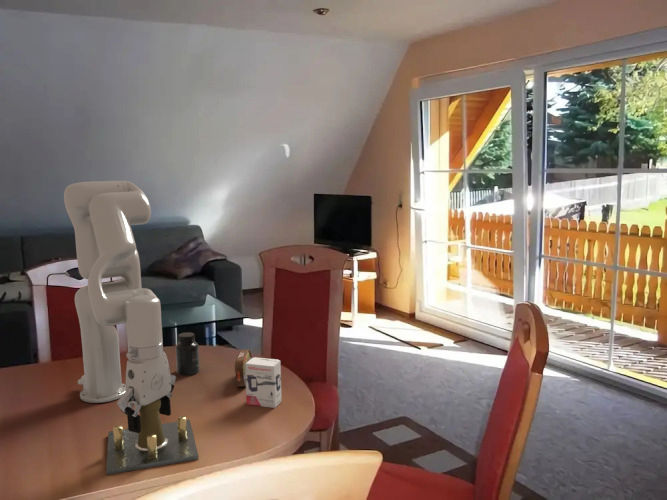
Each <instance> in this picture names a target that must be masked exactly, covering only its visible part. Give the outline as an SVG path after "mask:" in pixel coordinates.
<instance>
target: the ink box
mask: <svg viewBox="0 0 667 500" xmlns="http://www.w3.org/2000/svg"><path fill="white" fill-rule="evenodd" d="M281 364H282V363H281V360H279V359H277V358H276V359H275V358H264V357H256V356H255V357H252V359H250V360H249V361H248V362H247V363H246V386H245V391H246V392H245V395H246V405H249V406H256V407H257V406H258V407H263V408H264V407H265V408H273V409H276V408H277V406H278V405H279V404H280V403H282V372H281V371H282V368H281Z"/></svg>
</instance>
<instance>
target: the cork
mask: <svg viewBox="0 0 667 500" xmlns="http://www.w3.org/2000/svg"><path fill="white" fill-rule="evenodd" d="M160 406H161V400H160V399H158V400H156V401H154V402H152V403H150V404H148V405H146V406H141V408H140V410H139V412H138V413H139V415H140V423H141V432H139V434H138V446H139V447H141V448H146V449H148V448H147V435H149V434H156V438H157V447H158V446H160V445H162V444H163V443H164V442H165V438H164V433H163V428H162V424H163V423H162V419H161V414H160V413H159V409H160Z"/></svg>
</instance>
